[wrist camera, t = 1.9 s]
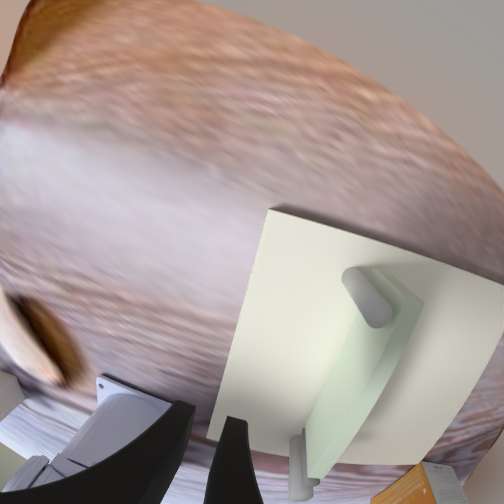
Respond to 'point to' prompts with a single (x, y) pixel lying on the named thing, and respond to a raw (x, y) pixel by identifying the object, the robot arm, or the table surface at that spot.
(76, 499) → the robot arm
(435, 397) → the gate frame
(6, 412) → the model
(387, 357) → the gate
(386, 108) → the table surface
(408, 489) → the small box
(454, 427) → the table surface
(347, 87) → the table surface
